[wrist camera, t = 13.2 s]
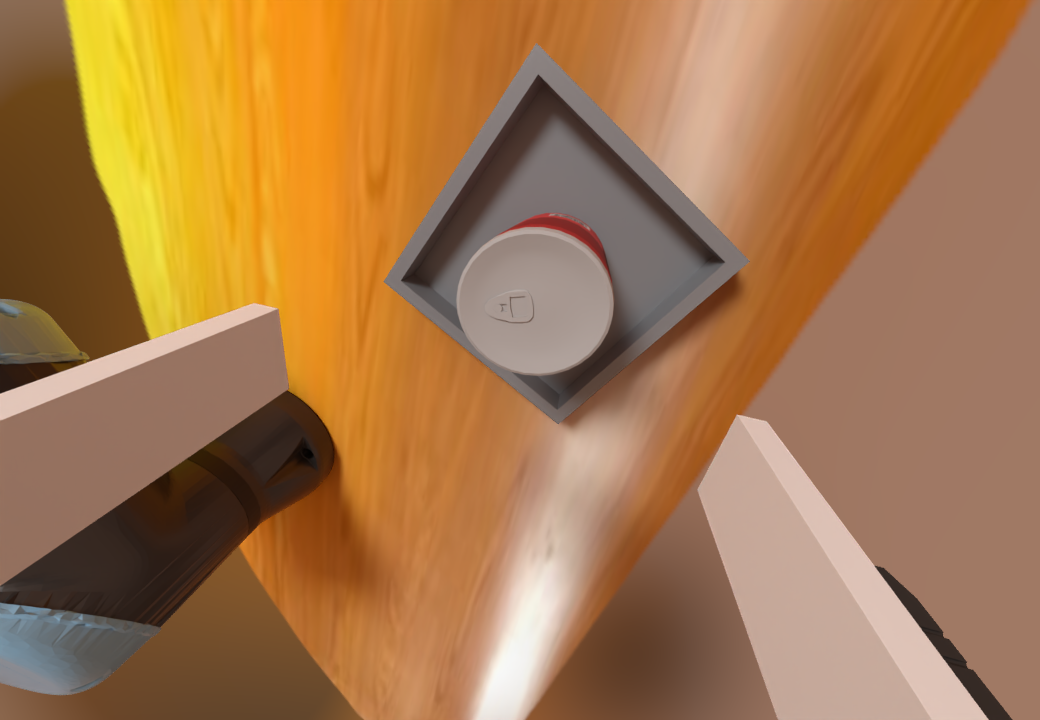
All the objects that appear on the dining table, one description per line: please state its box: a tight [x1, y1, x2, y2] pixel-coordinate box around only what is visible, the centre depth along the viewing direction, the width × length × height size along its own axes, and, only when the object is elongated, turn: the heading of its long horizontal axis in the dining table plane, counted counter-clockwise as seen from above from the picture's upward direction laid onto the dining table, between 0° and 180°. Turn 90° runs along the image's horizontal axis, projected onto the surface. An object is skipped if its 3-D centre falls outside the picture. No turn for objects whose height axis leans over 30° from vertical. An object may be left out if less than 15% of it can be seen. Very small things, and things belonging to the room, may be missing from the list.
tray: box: [384, 43, 750, 424], centre depth 27 cm, size 18×18×4 cm
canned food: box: [456, 213, 614, 376], centre depth 23 cm, size 8×8×11 cm
